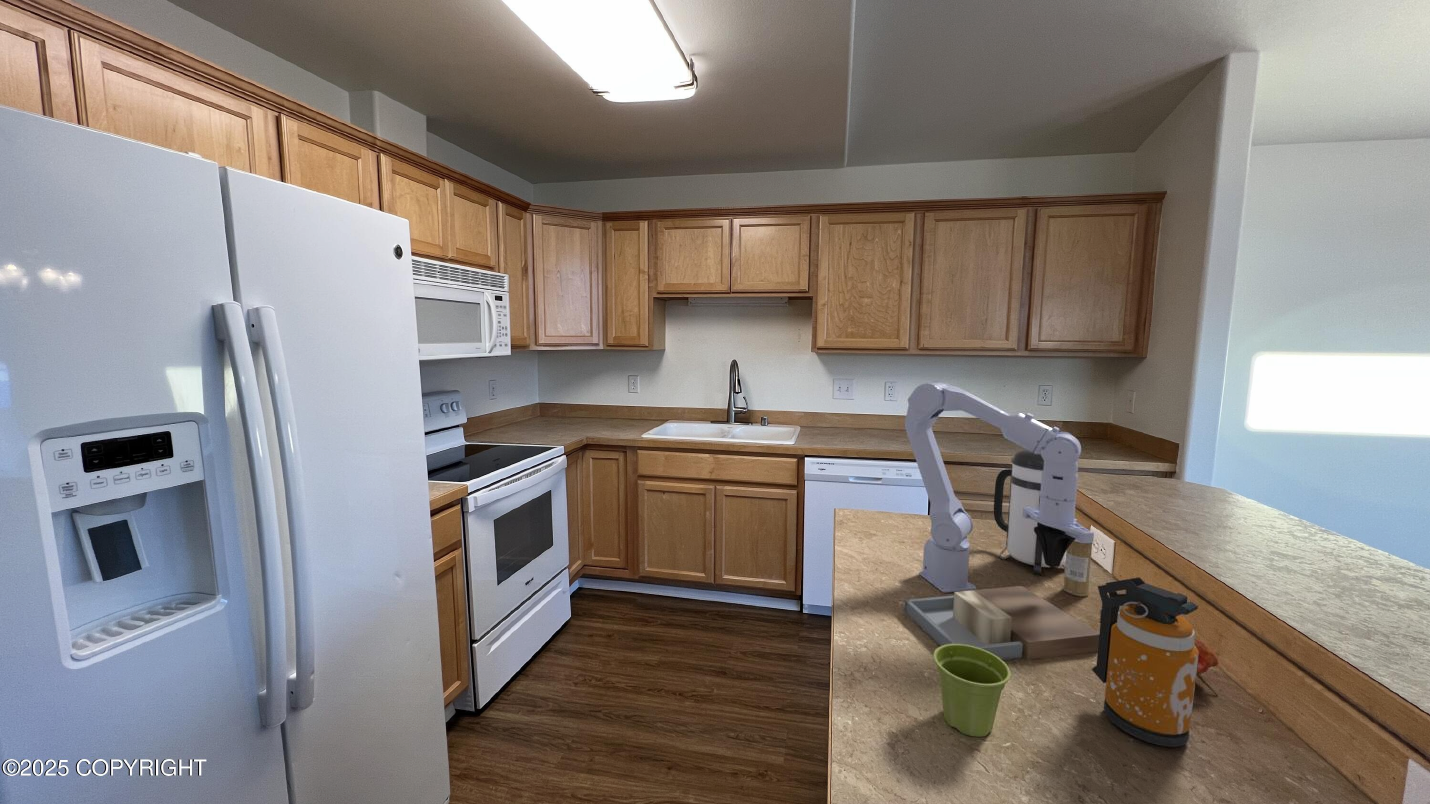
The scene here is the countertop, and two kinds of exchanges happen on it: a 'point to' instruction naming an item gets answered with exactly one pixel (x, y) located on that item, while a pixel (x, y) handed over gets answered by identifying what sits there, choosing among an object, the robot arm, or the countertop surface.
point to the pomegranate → (1205, 659)
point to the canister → (1147, 661)
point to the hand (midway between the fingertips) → (1052, 565)
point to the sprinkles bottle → (1078, 568)
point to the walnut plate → (1041, 624)
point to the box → (953, 626)
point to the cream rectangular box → (982, 618)
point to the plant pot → (970, 686)
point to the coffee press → (1023, 495)
